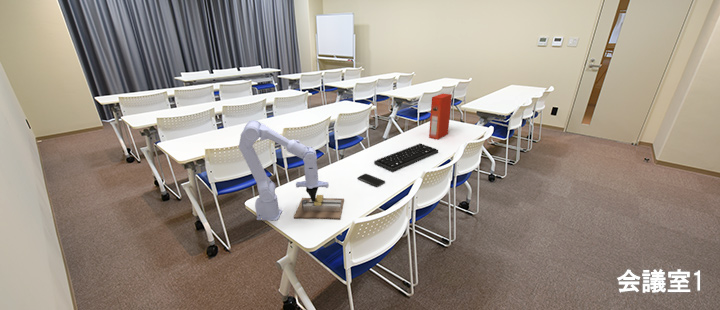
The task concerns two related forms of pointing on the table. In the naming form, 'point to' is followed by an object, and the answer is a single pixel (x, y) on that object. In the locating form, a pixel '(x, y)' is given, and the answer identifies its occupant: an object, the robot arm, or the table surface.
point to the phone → (371, 180)
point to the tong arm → (328, 201)
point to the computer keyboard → (405, 157)
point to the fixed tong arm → (321, 207)
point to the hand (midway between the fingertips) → (313, 200)
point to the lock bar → (318, 200)
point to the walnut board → (317, 212)
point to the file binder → (440, 116)
